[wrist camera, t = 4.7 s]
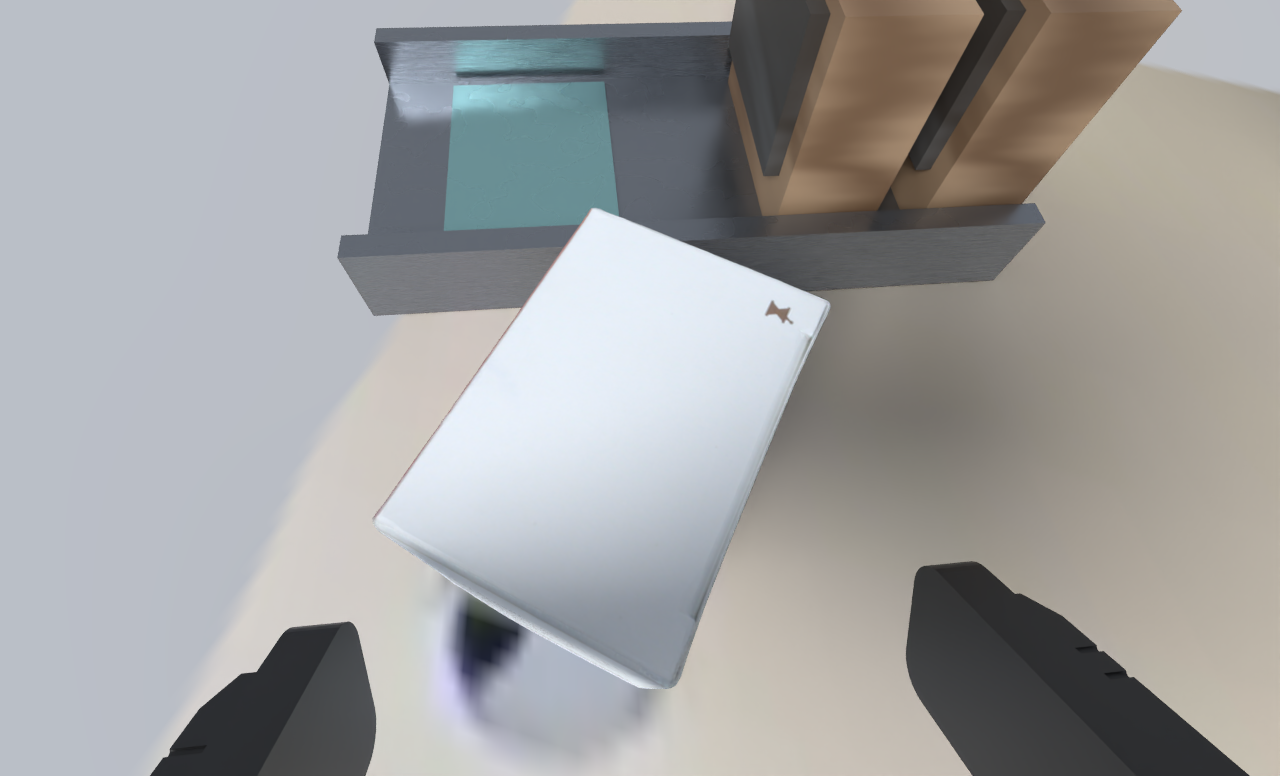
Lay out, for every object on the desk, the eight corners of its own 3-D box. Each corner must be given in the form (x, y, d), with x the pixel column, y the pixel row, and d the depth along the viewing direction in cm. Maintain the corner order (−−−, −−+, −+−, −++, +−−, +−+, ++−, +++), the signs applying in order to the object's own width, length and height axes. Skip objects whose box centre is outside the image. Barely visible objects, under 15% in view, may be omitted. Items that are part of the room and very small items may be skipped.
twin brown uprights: (924, 76, 30) (1040, -153, 22) (1000, 229, 25) (1181, 10, 17) (715, 82, 29) (755, -155, 21) (754, 241, 24) (824, 16, 16)
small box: (601, 405, 22) (593, 193, 13) (740, 469, 21) (840, 291, 12) (483, 608, 19) (354, 520, 9) (642, 696, 18) (674, 695, 8)
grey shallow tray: (902, 84, 32) (934, 17, 28) (993, 280, 26) (1045, 222, 23) (401, 98, 29) (376, 28, 26) (373, 315, 24) (337, 257, 20)
